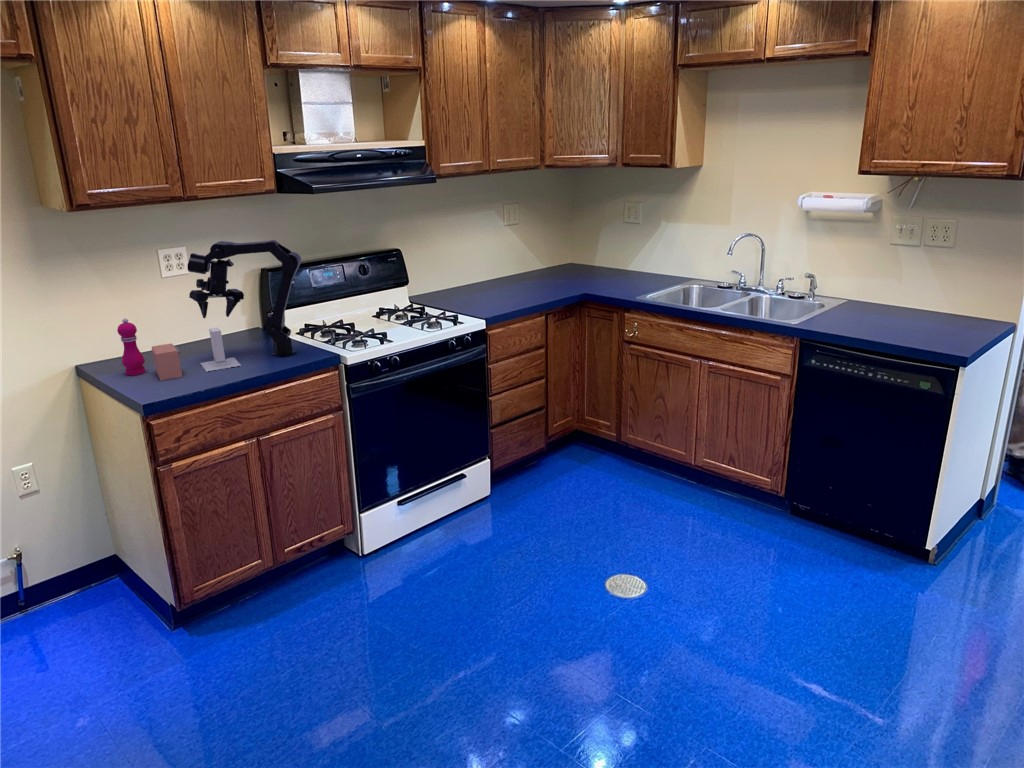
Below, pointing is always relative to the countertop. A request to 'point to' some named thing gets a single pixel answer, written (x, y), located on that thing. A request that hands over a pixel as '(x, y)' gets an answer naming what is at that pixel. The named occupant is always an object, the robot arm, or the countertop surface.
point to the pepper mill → (130, 349)
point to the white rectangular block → (217, 346)
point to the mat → (212, 366)
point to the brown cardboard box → (167, 361)
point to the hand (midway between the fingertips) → (215, 317)
